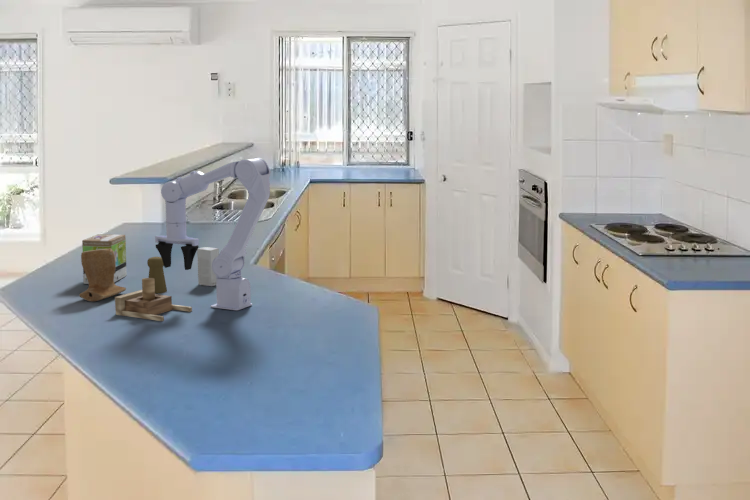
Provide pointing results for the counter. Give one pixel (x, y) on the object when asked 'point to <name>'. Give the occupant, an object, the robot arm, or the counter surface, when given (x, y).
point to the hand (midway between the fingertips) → (177, 268)
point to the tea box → (106, 242)
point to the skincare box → (206, 265)
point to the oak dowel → (148, 289)
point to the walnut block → (149, 305)
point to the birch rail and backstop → (122, 311)
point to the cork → (157, 274)
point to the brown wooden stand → (99, 274)
